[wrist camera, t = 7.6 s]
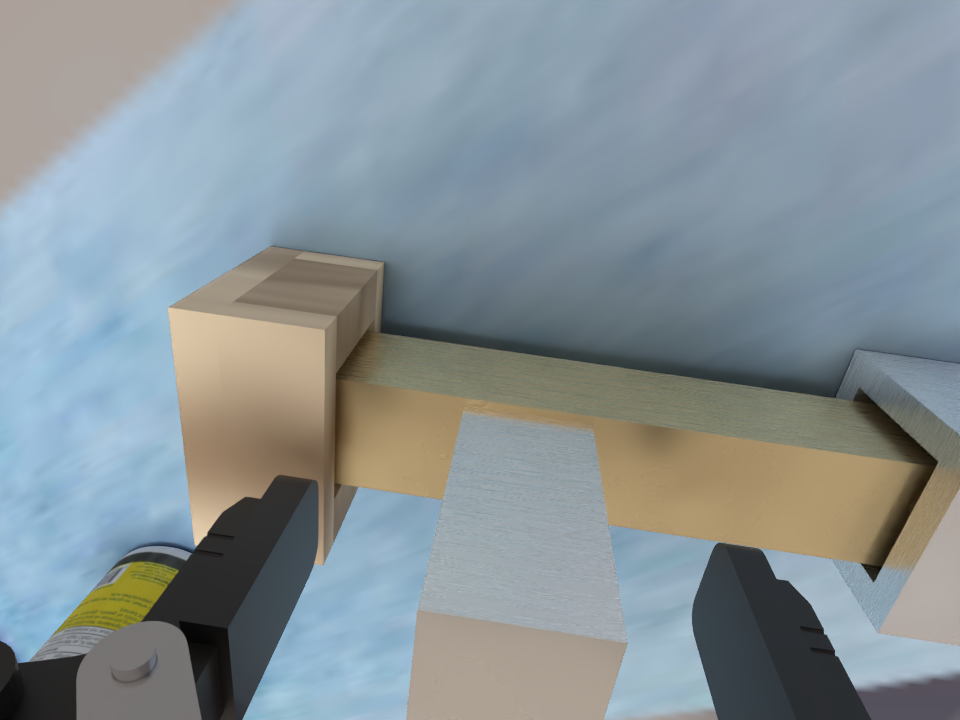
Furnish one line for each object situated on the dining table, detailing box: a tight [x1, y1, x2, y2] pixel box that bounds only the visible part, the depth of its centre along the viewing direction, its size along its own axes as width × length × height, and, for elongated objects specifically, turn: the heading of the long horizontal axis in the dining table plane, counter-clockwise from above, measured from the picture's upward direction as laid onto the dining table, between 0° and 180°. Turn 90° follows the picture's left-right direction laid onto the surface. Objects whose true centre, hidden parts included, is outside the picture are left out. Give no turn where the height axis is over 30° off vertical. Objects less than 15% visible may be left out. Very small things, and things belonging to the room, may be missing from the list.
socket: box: [168, 246, 384, 565], centre depth 16 cm, size 6×3×5 cm, turn 173°
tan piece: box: [334, 331, 938, 720], centre depth 13 cm, size 3×18×9 cm, turn 83°
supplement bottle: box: [29, 546, 192, 662], centre depth 19 cm, size 5×5×8 cm
